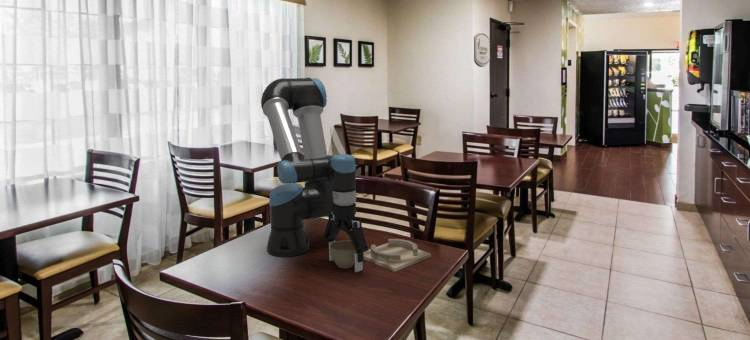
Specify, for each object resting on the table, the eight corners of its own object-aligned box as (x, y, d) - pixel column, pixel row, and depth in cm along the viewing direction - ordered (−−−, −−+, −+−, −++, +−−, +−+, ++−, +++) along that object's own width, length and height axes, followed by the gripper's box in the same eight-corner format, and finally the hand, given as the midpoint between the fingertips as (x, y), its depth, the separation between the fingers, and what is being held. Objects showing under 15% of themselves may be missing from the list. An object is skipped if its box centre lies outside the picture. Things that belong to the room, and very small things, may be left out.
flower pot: (356, 272, 158) (356, 251, 157) (326, 270, 160) (326, 249, 159) (363, 261, 168) (363, 241, 166) (335, 259, 170) (334, 239, 168)
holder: (357, 256, 172) (357, 246, 171) (393, 243, 184) (393, 234, 183) (394, 271, 159) (394, 260, 158) (431, 256, 171) (431, 246, 170)
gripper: (312, 197, 166) (314, 258, 170) (361, 212, 148) (362, 279, 153) (329, 193, 171) (331, 252, 175) (379, 207, 153) (379, 272, 158)
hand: (345, 265), depth 164 cm, fingers open, 12 cm apart
